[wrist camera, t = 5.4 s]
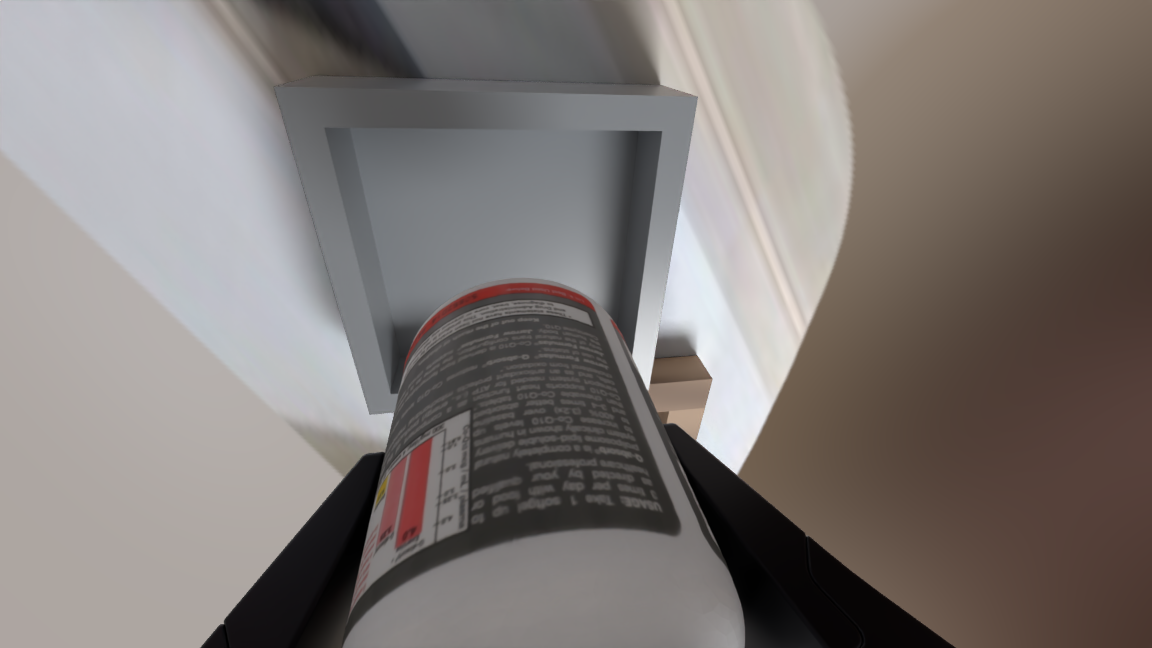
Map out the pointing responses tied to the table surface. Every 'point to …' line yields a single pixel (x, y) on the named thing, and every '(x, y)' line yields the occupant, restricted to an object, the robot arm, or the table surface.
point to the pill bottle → (534, 492)
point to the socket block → (680, 391)
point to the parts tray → (486, 199)
